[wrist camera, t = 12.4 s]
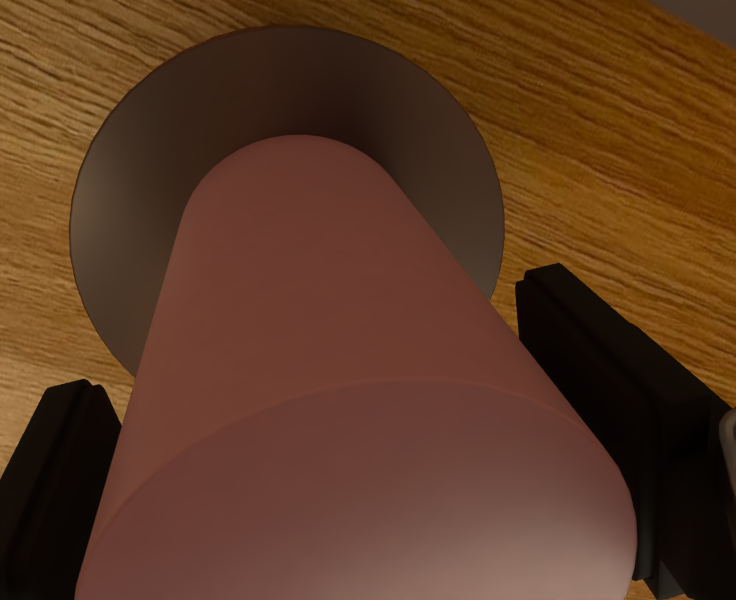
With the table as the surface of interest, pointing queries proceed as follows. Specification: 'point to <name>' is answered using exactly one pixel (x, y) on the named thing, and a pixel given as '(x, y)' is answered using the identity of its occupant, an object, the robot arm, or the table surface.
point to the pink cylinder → (343, 414)
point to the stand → (255, 123)
